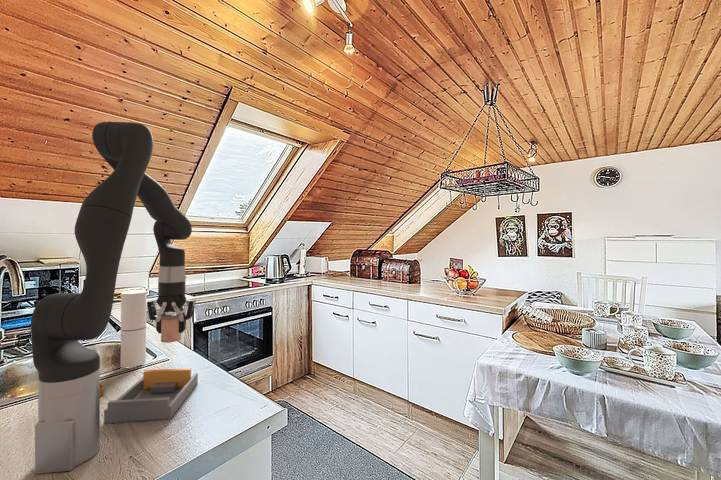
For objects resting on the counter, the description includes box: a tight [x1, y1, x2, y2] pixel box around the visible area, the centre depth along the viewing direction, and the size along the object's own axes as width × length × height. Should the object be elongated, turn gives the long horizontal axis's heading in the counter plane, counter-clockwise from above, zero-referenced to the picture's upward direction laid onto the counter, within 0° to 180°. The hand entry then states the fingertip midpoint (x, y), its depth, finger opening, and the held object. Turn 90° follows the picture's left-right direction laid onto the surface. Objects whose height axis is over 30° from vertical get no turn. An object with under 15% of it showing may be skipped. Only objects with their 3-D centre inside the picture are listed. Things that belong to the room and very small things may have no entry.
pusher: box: [142, 367, 192, 393], centre depth 93 cm, size 4×12×5 cm, turn 99°
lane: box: [103, 372, 199, 425], centre depth 87 cm, size 19×15×5 cm
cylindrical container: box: [120, 289, 147, 369], centre depth 111 cm, size 7×7×25 cm
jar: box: [160, 312, 182, 344], centre depth 103 cm, size 6×6×8 cm
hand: (171, 332), depth 103 cm, fingers closed on jar, 5 cm apart
